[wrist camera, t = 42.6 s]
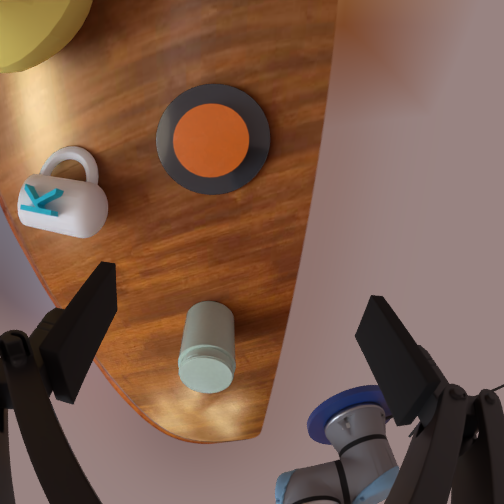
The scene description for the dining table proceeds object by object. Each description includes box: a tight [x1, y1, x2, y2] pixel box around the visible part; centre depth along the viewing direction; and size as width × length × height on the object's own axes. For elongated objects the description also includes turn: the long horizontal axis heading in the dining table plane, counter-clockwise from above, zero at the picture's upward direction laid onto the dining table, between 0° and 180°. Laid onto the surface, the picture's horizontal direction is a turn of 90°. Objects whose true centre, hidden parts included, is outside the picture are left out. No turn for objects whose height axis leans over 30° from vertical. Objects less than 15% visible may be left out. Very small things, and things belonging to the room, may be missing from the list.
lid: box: [173, 103, 249, 177], centre depth 36 cm, size 9×9×2 cm
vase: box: [0, 0, 93, 73], centre depth 19 cm, size 18×18×19 cm
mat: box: [156, 84, 270, 195], centre depth 37 cm, size 14×14×1 cm
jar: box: [178, 301, 236, 393], centre depth 43 cm, size 8×8×12 cm
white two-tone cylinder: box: [18, 146, 108, 238], centre depth 35 cm, size 12×9×12 cm
